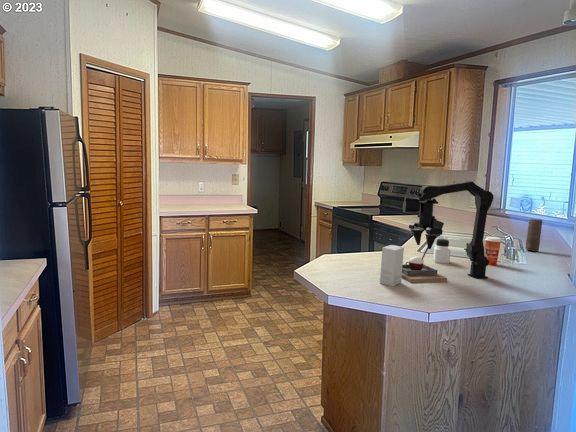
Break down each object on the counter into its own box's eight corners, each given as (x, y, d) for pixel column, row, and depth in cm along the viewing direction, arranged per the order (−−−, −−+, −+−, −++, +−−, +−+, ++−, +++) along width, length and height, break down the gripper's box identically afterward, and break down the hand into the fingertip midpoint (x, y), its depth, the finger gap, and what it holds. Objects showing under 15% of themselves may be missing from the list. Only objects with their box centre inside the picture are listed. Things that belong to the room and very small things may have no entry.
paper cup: (482, 264, 226) (484, 237, 225) (483, 261, 233) (485, 235, 231) (498, 266, 223) (501, 239, 221) (499, 263, 230) (502, 237, 228)
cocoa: (404, 270, 198) (405, 244, 197) (409, 268, 203) (410, 242, 202) (425, 273, 193) (426, 246, 192) (429, 270, 198) (430, 244, 197)
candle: (539, 253, 264) (543, 220, 261) (525, 251, 267) (529, 219, 264) (538, 251, 271) (541, 219, 268) (524, 249, 274) (528, 218, 271)
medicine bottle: (449, 263, 224) (451, 241, 223) (434, 262, 226) (436, 239, 224) (447, 260, 231) (449, 238, 230) (433, 259, 233) (435, 237, 231)
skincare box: (388, 279, 189) (390, 244, 187) (402, 283, 185) (405, 246, 183) (378, 283, 182) (381, 246, 180) (393, 286, 178) (396, 249, 176)
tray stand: (447, 281, 190) (447, 273, 190) (409, 282, 186) (410, 274, 185) (420, 268, 211) (420, 261, 211) (386, 269, 207) (386, 262, 206)
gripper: (454, 215, 191) (451, 250, 193) (430, 210, 209) (427, 242, 211) (432, 216, 188) (429, 251, 190) (409, 210, 206) (407, 243, 208)
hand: (423, 247), depth 200 cm, fingers open, 9 cm apart
